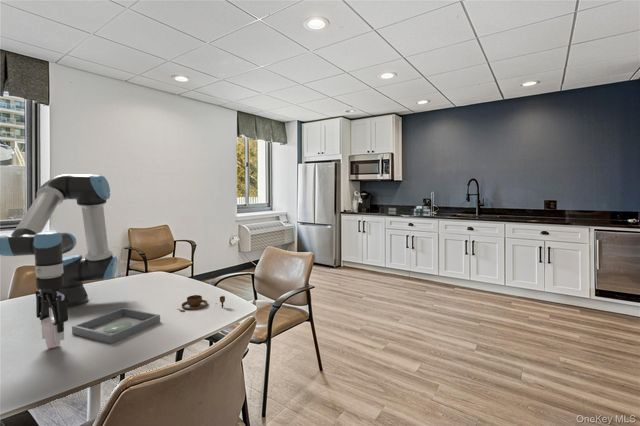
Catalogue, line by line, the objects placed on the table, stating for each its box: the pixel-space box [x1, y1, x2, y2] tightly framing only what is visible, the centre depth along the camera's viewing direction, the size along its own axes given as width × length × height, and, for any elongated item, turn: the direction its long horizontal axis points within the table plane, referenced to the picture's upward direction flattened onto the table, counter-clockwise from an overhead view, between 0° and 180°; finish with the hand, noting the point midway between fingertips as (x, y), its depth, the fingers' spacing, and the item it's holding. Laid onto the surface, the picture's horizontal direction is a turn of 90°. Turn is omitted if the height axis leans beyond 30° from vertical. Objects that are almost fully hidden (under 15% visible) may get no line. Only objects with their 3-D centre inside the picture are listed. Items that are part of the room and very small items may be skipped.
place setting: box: [177, 294, 226, 313], centre depth 159 cm, size 18×20×6 cm
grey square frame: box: [71, 307, 161, 345], centre depth 135 cm, size 22×22×3 cm
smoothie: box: [40, 307, 61, 349], centre depth 117 cm, size 6×6×14 cm
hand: (53, 338), depth 117 cm, fingers closed on smoothie, 6 cm apart
